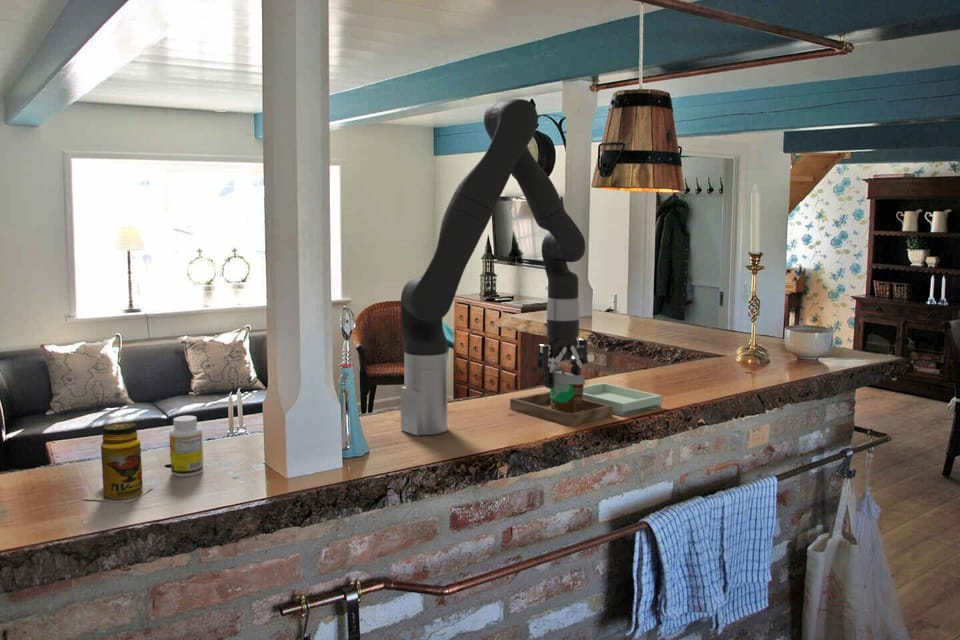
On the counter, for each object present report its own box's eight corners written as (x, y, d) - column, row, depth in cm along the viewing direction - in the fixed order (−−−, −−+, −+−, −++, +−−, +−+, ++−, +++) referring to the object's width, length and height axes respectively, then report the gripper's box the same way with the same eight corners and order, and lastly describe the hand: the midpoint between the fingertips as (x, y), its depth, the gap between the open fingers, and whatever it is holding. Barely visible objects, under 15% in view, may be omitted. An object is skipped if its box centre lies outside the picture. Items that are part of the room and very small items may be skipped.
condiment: (130, 503, 135) (126, 431, 134) (82, 500, 137) (78, 429, 135) (154, 488, 143) (150, 420, 141) (108, 485, 144) (105, 418, 142)
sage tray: (622, 416, 193) (623, 403, 193) (564, 401, 208) (565, 389, 208) (661, 407, 202) (661, 395, 202) (602, 393, 217) (603, 382, 216)
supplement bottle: (177, 468, 154) (175, 414, 152) (207, 468, 154) (205, 414, 152) (166, 477, 148) (163, 421, 147) (197, 478, 148) (195, 422, 147)
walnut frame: (569, 426, 184) (569, 415, 184) (510, 409, 200) (510, 398, 199) (612, 416, 193) (612, 406, 193) (552, 400, 209) (552, 391, 208)
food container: (537, 407, 201) (538, 367, 200) (560, 405, 203) (561, 365, 202) (560, 420, 190) (561, 377, 188) (584, 418, 192) (585, 375, 191)
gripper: (552, 321, 186) (551, 392, 188) (595, 315, 195) (595, 383, 197) (529, 318, 192) (529, 387, 194) (573, 312, 201) (572, 378, 203)
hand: (562, 385), depth 196 cm, fingers open, 8 cm apart
